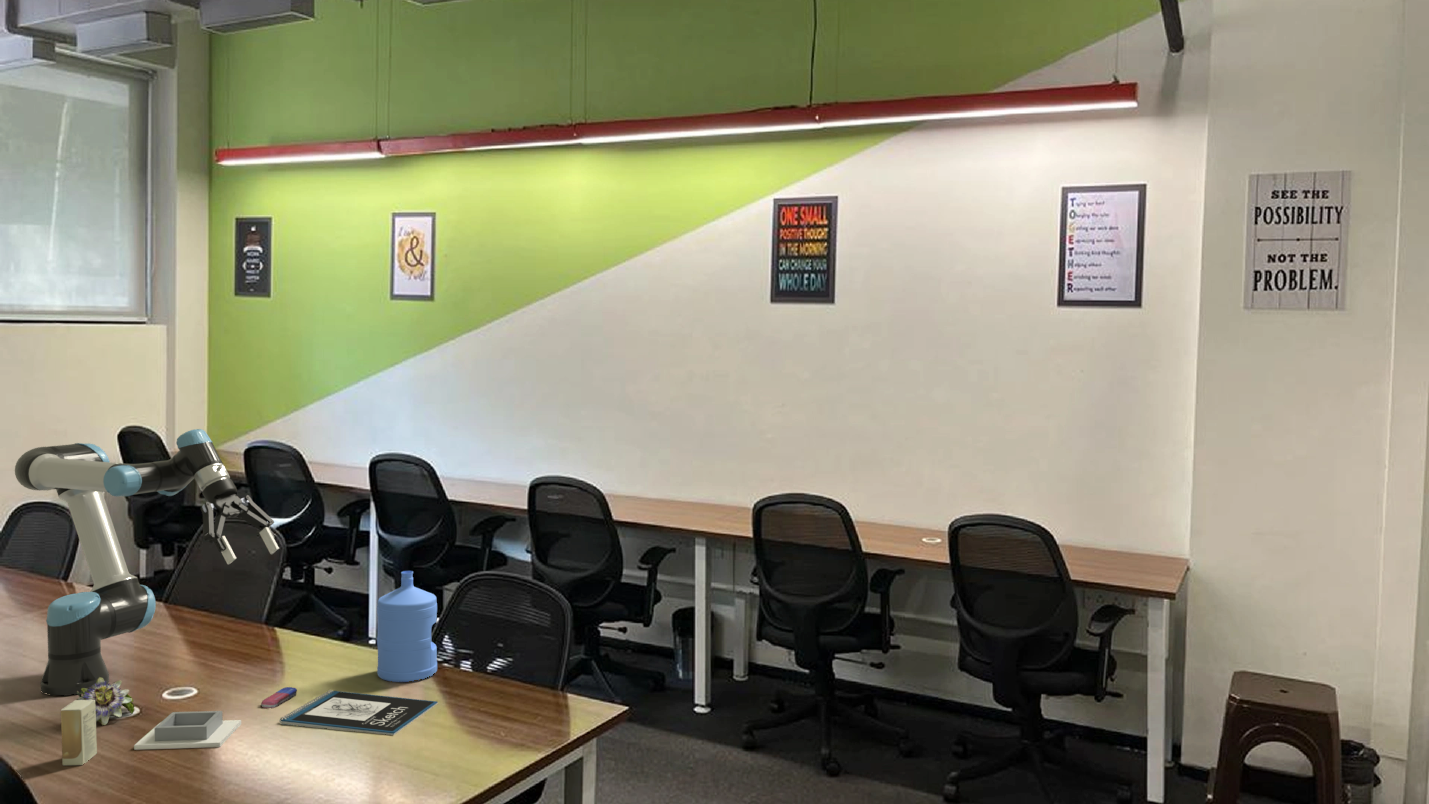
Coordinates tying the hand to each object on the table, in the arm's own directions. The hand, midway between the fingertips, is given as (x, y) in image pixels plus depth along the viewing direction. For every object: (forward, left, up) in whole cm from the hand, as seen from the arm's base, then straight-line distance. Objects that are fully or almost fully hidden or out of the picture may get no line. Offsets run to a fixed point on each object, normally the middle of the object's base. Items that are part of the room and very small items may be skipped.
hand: (254, 556), depth 263 cm
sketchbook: (+29, -14, -37) cm, 49 cm away
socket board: (-6, -26, -36) cm, 45 cm away
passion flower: (-30, -13, -36) cm, 49 cm away
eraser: (+7, -3, -36) cm, 37 cm away
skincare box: (-24, -38, -36) cm, 58 cm away
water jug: (+35, +16, -36) cm, 52 cm away
